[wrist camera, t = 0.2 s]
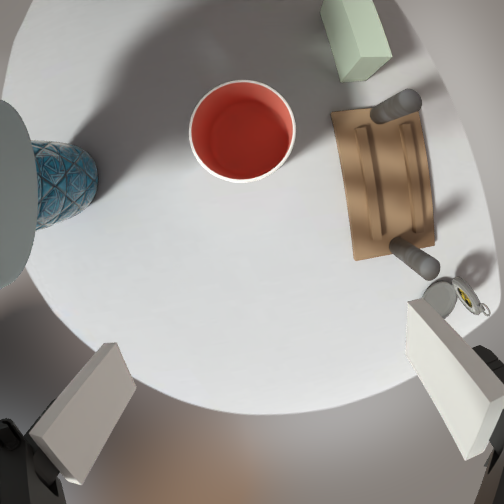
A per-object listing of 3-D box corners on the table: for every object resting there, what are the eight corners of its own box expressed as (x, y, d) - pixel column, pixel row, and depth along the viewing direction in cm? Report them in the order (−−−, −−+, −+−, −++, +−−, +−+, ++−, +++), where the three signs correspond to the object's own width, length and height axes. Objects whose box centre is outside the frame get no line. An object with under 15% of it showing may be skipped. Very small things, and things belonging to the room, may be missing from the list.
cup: (279, 93, 34) (281, 69, 25) (298, 169, 37) (307, 169, 27) (201, 112, 36) (178, 95, 26) (219, 187, 38) (201, 194, 28)
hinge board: (330, 111, 35) (351, 91, 24) (413, 105, 33) (455, 89, 23) (353, 260, 39) (379, 291, 29) (431, 245, 38) (473, 269, 27)
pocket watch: (411, 315, 41) (440, 350, 31) (433, 263, 39) (469, 289, 29) (449, 324, 41) (479, 356, 31) (470, 276, 39) (506, 301, 29)
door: (319, 12, 31) (331, -26, 21) (350, 11, 30) (369, -25, 21) (340, 82, 33) (360, 57, 24) (372, 80, 33) (400, 56, 23)
